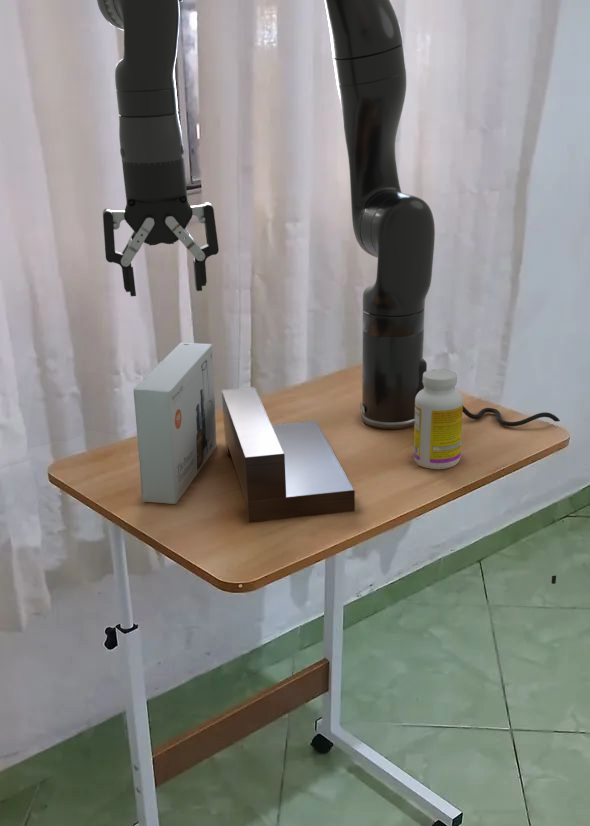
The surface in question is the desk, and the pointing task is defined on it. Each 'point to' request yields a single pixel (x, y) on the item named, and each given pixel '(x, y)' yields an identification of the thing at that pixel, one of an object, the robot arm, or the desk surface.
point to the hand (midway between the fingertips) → (166, 292)
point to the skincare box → (175, 421)
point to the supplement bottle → (438, 420)
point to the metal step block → (282, 462)
